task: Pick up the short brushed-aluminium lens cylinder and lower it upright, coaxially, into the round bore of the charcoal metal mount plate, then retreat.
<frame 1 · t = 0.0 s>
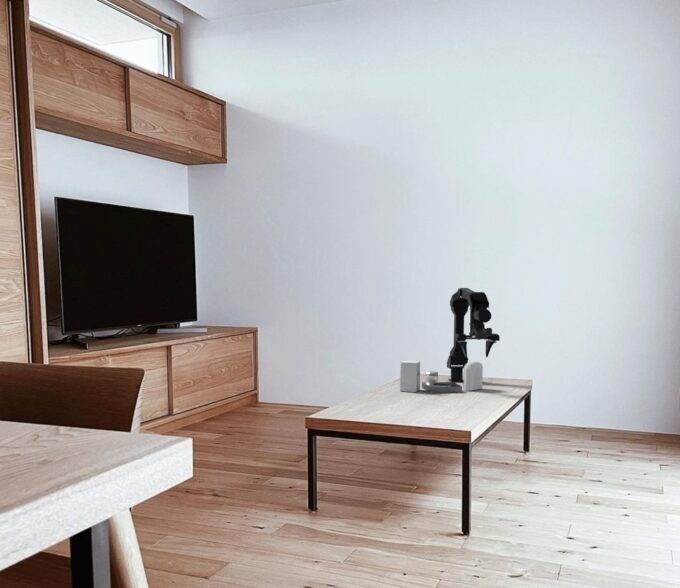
hand: (476, 357, 293), 15 cm above the table, fingers open, 9 cm apart
lens: (431, 385, 309), on the table
photo printer: (473, 390, 298), on the table
supplement box: (410, 391, 294), on the table
mount plate: (441, 390, 296), on the table
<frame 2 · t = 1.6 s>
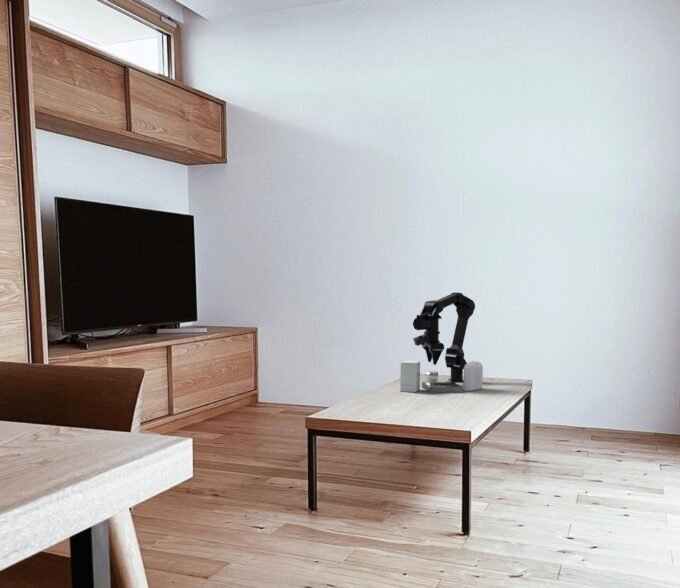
hand: (432, 363, 309), 10 cm above the table, fingers open, 9 cm apart
nothing on the table moved.
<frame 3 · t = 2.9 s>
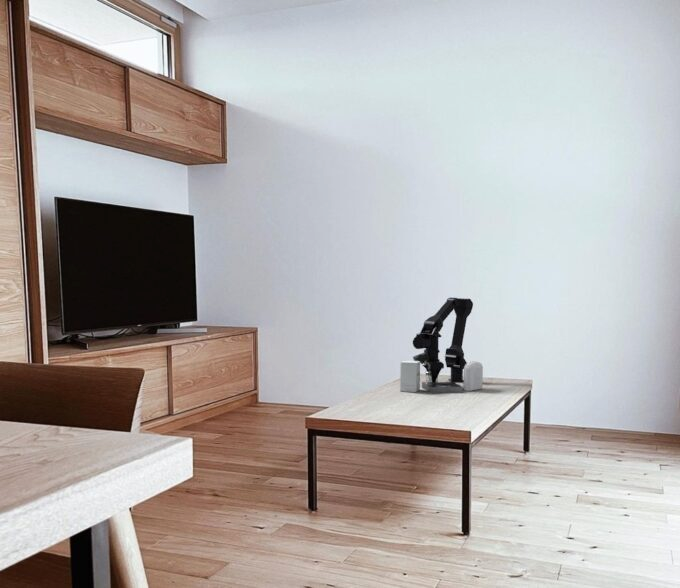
hand: (431, 381, 309), 2 cm above the table, fingers closed on lens, 5 cm apart
lens: (431, 385, 309), on the table, touching gripper
everything else where it was.
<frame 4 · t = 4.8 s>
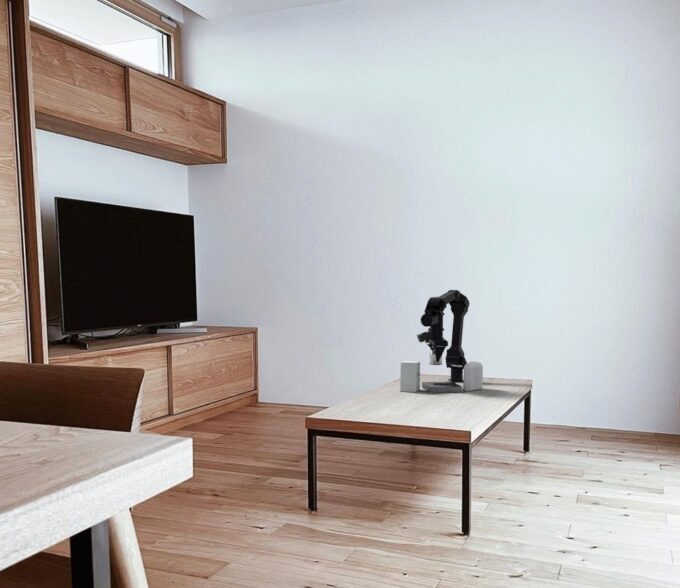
hand: (435, 360, 302), 12 cm above the table, fingers closed on lens, 5 cm apart
lens: (435, 364, 302), point 10 cm above the table, touching gripper
everything else where it was.
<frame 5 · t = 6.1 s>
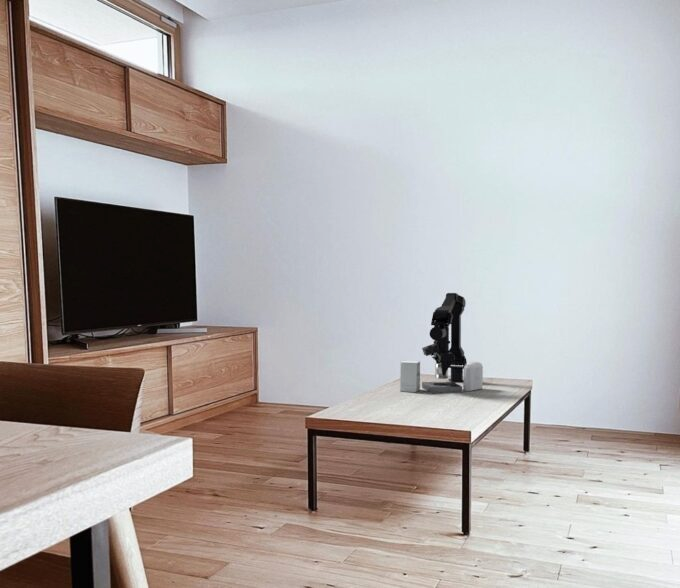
hand: (441, 374, 296), 7 cm above the table, fingers closed on lens, 5 cm apart
lens: (441, 377, 296), point 5 cm above the table, touching gripper
everything else where it was.
when the fingers open (3 cm above the table, at t = 7.1 s): lens drops 2 cm, resting in mount plate.
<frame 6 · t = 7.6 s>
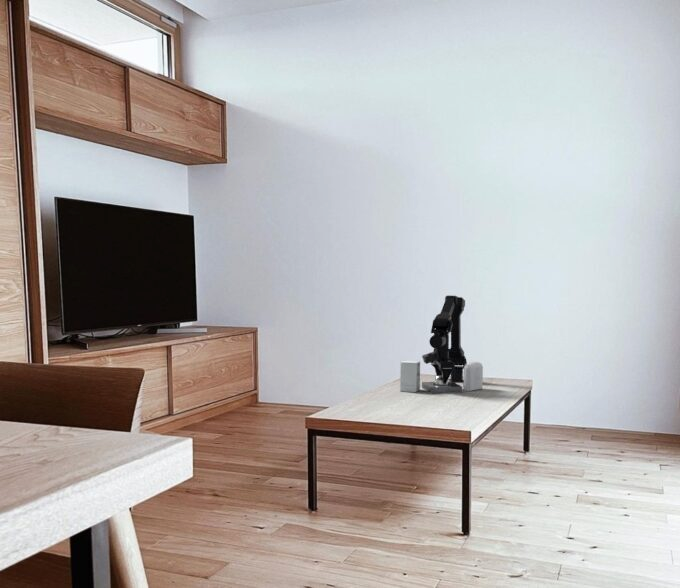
hand: (441, 382, 296), 3 cm above the table, fingers open, 9 cm apart
lens: (441, 390, 296), resting in mount plate
everything else where it was.
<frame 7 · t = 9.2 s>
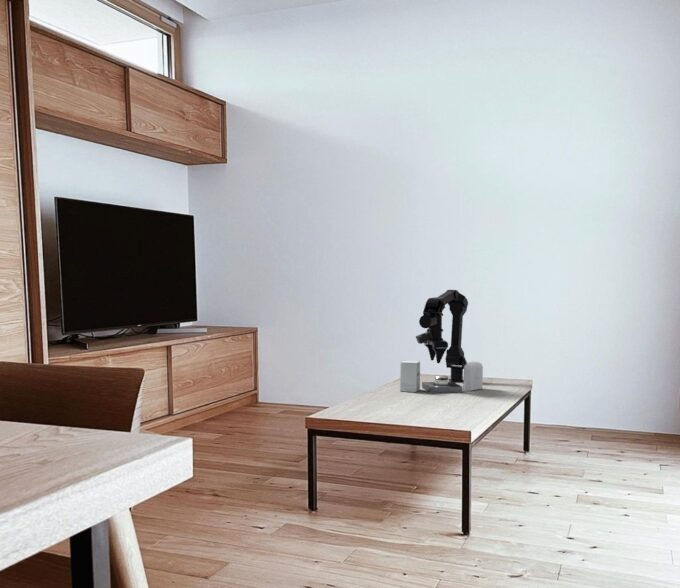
hand: (435, 361, 302), 12 cm above the table, fingers open, 9 cm apart
nothing on the table moved.
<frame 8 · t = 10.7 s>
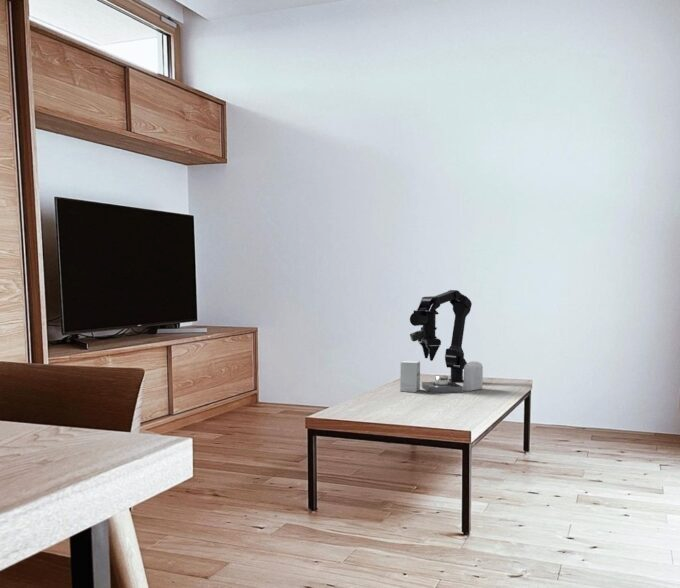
hand: (428, 359, 306), 12 cm above the table, fingers open, 9 cm apart
nothing on the table moved.
at the end: lens 0.1 cm off-centre on the mount plate, point 0.0 cm above the mount plate's base; lens tilted 0°; the gripper is holding nothing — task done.
